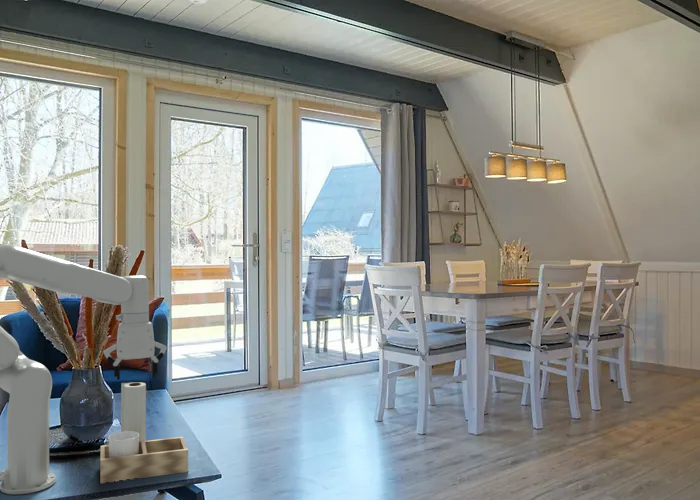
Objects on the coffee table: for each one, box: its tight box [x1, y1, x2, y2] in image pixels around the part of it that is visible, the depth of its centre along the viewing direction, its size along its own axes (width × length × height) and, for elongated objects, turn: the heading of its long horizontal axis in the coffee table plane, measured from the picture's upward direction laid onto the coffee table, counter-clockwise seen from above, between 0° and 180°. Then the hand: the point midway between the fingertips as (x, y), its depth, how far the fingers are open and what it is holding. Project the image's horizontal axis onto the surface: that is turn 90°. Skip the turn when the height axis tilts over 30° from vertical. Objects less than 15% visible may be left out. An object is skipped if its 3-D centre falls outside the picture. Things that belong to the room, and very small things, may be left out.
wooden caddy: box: [99, 436, 189, 484], centre depth 165 cm, size 22×12×6 cm, turn 112°
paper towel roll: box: [120, 381, 147, 441], centre depth 174 cm, size 7×6×21 cm
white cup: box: [107, 431, 139, 458], centre depth 163 cm, size 8×8×10 cm
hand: (136, 377), depth 175 cm, fingers open, 9 cm apart
